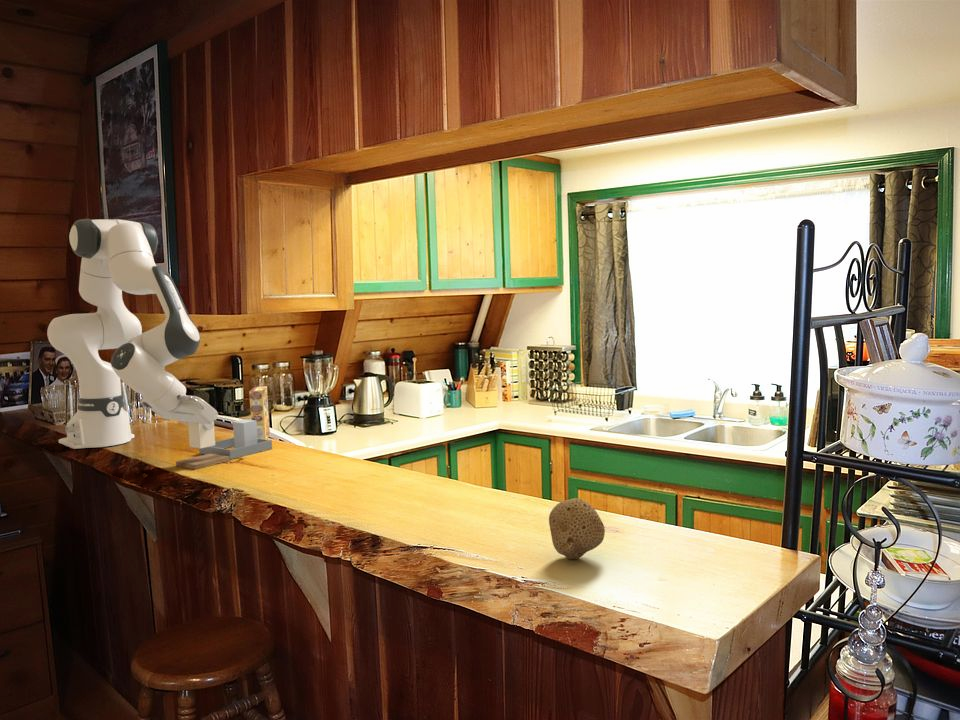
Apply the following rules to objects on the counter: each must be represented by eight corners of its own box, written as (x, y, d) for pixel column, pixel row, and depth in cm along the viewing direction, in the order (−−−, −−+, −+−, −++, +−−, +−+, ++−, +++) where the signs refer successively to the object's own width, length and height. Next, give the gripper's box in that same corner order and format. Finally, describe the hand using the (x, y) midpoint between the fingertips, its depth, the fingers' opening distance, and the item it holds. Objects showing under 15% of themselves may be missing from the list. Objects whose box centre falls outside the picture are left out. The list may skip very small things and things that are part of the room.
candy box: (266, 441, 228) (263, 390, 226) (251, 442, 227) (248, 390, 225) (270, 435, 236) (267, 386, 235) (256, 436, 236) (253, 386, 234)
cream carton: (189, 446, 200) (187, 412, 199) (204, 443, 204) (202, 409, 203) (200, 448, 197) (198, 413, 196) (215, 445, 201) (213, 410, 200)
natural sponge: (606, 550, 130) (605, 492, 129) (603, 570, 121) (602, 508, 120) (552, 548, 132) (551, 491, 131) (545, 567, 123) (545, 506, 122)
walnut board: (176, 466, 199) (175, 461, 199) (210, 457, 208) (210, 453, 207) (195, 469, 194) (195, 464, 194) (229, 460, 203) (229, 456, 203)
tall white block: (234, 449, 217) (233, 421, 216) (247, 446, 220) (246, 419, 220) (245, 451, 214) (243, 423, 213) (258, 448, 218) (256, 420, 217)
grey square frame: (199, 454, 212) (199, 445, 212) (241, 444, 224) (240, 435, 224) (230, 459, 205) (230, 450, 205) (272, 448, 217) (271, 440, 216)
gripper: (200, 387, 187) (235, 420, 196) (150, 383, 199) (186, 414, 208) (185, 408, 184) (222, 440, 193) (136, 402, 195) (172, 433, 204)
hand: (203, 427), depth 200 cm, fingers closed on cream carton, 4 cm apart
